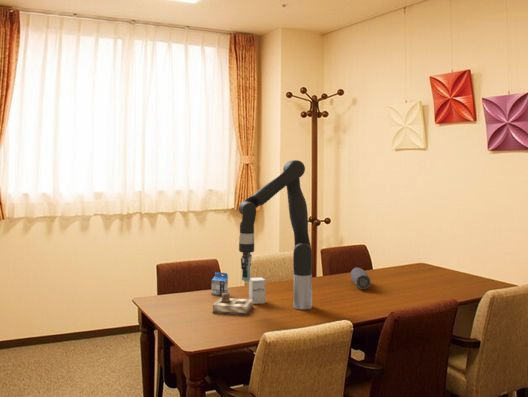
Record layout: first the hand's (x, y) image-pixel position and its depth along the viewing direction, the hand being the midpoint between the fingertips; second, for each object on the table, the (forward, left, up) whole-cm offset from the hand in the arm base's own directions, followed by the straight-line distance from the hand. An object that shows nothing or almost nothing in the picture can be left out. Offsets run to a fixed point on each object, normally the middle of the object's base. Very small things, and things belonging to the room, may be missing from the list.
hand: (246, 276), depth 253 cm
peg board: (+7, -1, -18) cm, 19 cm away
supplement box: (-1, -18, -18) cm, 26 cm away
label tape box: (+23, -30, -18) cm, 41 cm away
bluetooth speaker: (-54, -66, -18) cm, 87 cm away
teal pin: (0, 0, -2) cm, 2 cm away
